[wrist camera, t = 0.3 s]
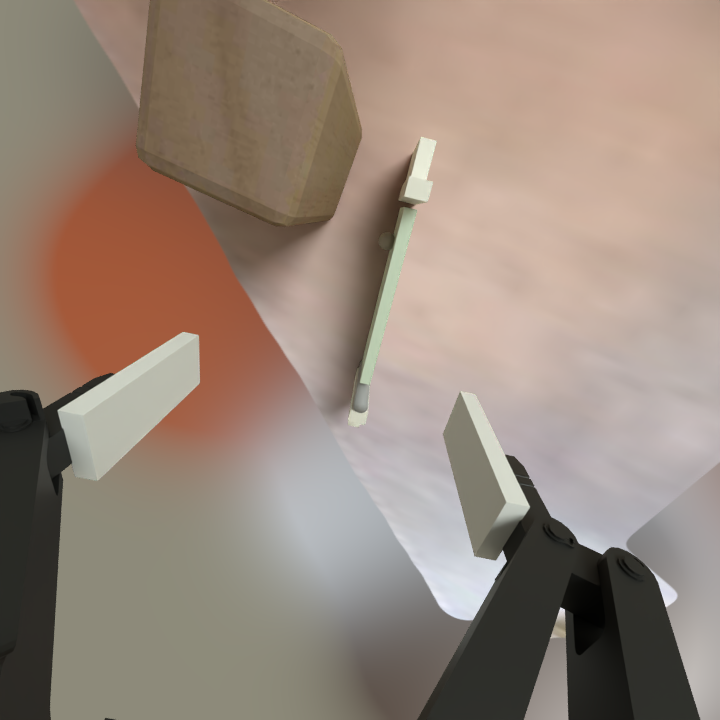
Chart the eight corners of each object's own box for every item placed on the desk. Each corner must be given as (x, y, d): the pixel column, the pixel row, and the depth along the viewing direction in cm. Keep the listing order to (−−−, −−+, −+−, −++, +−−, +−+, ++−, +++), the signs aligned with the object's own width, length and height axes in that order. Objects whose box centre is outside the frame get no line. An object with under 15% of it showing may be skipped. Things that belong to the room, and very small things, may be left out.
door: (371, 356, 45) (369, 385, 37) (352, 352, 45) (346, 379, 37) (410, 210, 37) (417, 210, 29) (386, 204, 36) (387, 202, 29)
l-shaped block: (410, 151, 34) (421, 127, 24) (428, 156, 35) (446, 133, 25) (351, 392, 48) (343, 439, 38) (364, 395, 48) (359, 443, 38)
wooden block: (251, 186, 37) (125, 160, 19) (276, 84, 33) (146, -74, 15) (332, 223, 38) (286, 233, 20) (365, 129, 34) (346, 34, 16)
